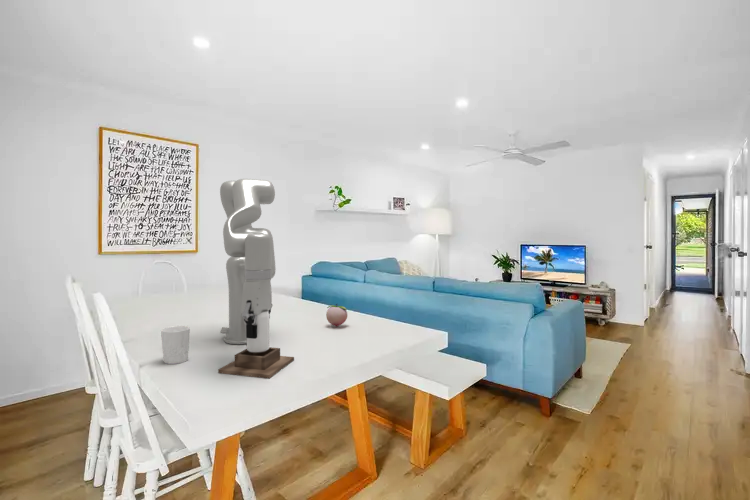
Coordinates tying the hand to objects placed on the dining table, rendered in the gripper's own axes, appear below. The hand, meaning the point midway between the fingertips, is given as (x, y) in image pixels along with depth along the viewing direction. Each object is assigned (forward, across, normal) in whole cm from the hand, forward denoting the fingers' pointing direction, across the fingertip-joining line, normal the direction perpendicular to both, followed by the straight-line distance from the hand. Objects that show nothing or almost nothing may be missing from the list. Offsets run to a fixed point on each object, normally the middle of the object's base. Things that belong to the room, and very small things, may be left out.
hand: (258, 334), depth 117 cm
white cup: (+10, +2, -27) cm, 29 cm away
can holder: (+10, 0, 0) cm, 10 cm away
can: (+5, 0, 0) cm, 5 cm away
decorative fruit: (+10, -53, +7) cm, 54 cm away
